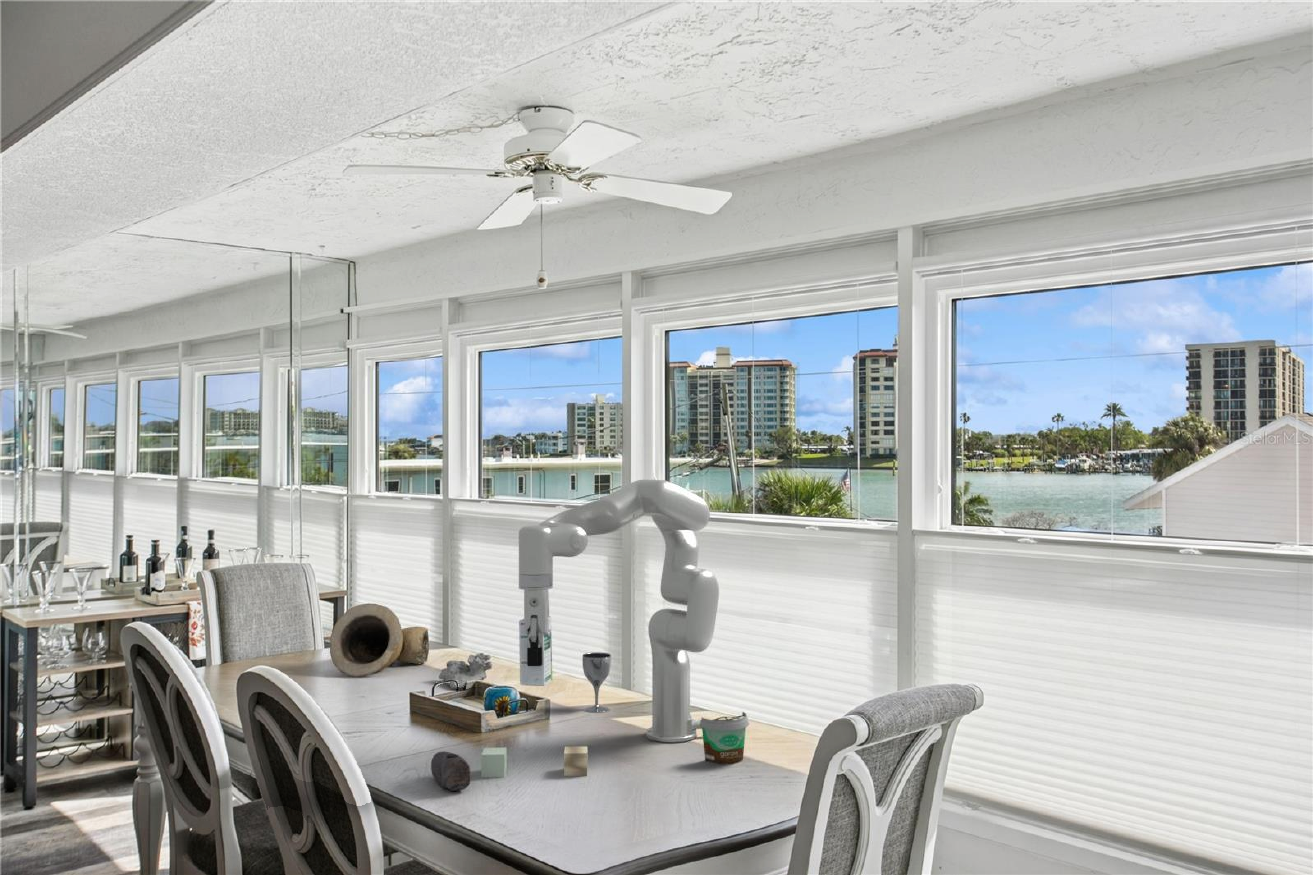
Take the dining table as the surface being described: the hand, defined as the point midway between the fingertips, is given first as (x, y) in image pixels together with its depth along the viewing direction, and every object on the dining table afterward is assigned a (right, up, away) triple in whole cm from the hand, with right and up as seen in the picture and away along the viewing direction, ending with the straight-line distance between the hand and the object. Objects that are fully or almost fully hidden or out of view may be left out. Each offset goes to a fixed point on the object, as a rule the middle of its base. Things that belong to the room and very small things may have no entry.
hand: (535, 661), depth 214 cm
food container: (+43, -25, +8) cm, 51 cm away
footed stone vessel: (-65, -28, +108) cm, 129 cm away
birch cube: (+9, -25, 0) cm, 26 cm away
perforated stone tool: (-18, -25, -9) cm, 31 cm away
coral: (-33, -27, +84) cm, 94 cm away
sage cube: (-9, -25, -1) cm, 26 cm away
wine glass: (+10, -26, +54) cm, 61 cm away
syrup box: (0, -5, 0) cm, 5 cm away
